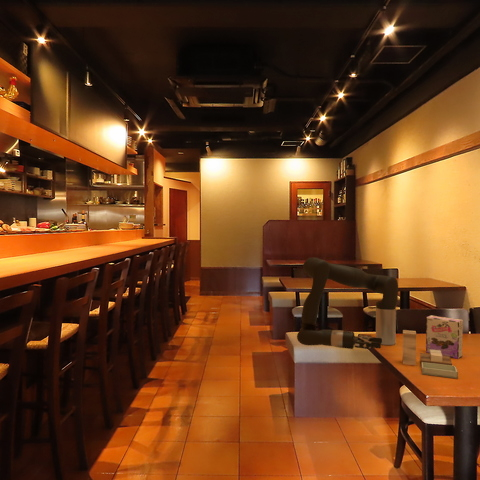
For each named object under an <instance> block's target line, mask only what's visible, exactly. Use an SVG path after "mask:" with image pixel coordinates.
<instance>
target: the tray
mask: <svg viewBox="0 0 480 480" xmlns="http://www.w3.org/2000/svg"><path fill="white" fill-rule="evenodd" d="M421 374H422V376H423V375H425V376H433V377H439V378H440V377H441V378H448V379H458V377H459V375H458V374H459V371H458V370H457V367H456V365H453V364H452V365H444V364H435V363H426V362H422V368H421Z"/></svg>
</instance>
